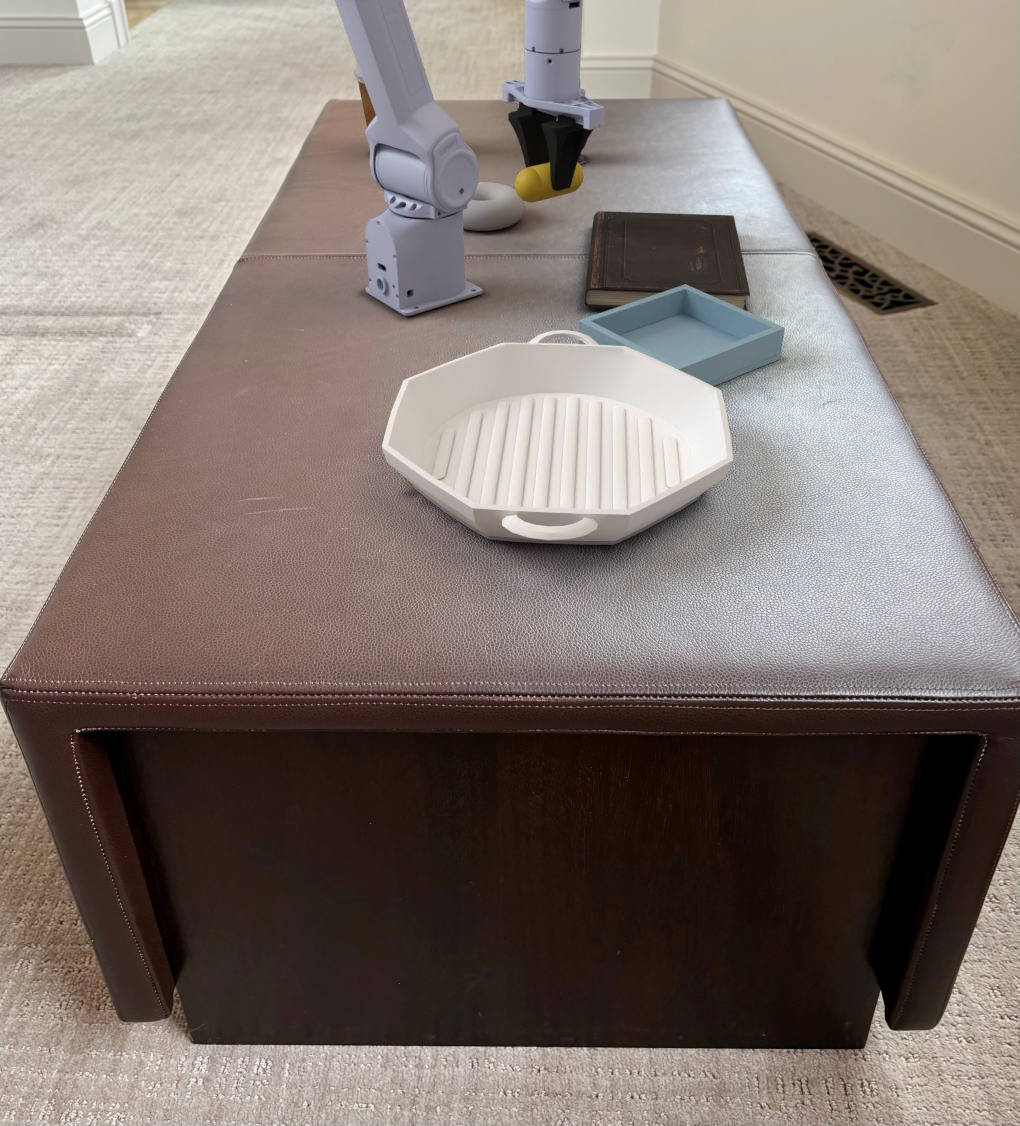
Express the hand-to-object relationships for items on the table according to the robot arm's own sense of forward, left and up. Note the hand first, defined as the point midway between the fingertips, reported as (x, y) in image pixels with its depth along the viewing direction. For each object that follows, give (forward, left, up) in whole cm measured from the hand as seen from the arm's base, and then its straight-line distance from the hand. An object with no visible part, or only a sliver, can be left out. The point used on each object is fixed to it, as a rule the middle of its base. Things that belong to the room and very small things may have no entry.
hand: (549, 183), depth 116 cm
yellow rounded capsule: (0, 0, -1) cm, 1 cm away
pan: (-29, -37, -7) cm, 47 cm away
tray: (-8, -29, -7) cm, 31 cm away
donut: (-1, +11, -7) cm, 13 cm away
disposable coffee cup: (+5, +40, -7) cm, 41 cm away
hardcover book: (+5, -13, -7) cm, 16 cm away
